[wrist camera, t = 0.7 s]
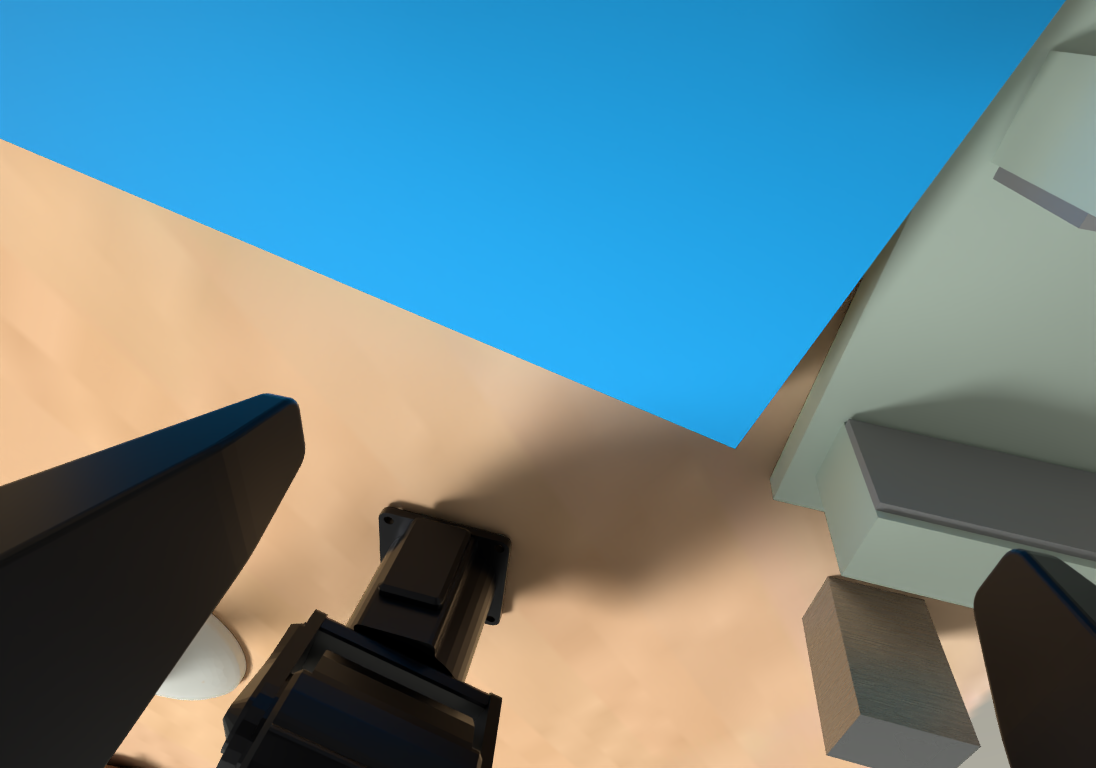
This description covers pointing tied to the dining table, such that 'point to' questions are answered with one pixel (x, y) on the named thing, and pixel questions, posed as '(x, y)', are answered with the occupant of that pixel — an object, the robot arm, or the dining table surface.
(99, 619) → the robot arm
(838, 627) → the block
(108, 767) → the cup and saucer
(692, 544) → the dining table surface
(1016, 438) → the vise
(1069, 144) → the jaw
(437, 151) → the book
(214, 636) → the candlestick
